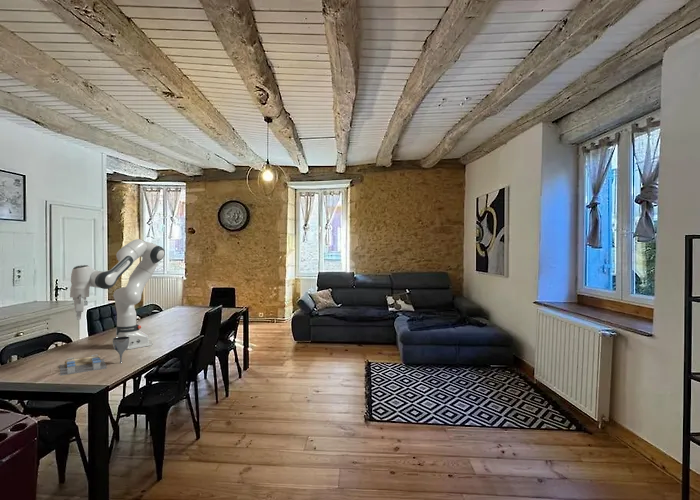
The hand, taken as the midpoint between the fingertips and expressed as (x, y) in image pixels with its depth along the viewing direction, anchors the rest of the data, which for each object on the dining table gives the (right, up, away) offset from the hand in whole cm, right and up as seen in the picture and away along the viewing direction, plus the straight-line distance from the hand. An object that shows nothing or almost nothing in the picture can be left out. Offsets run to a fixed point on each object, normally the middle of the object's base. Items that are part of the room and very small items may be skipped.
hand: (78, 318), depth 212 cm
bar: (+6, -25, -5) cm, 26 cm away
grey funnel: (+25, -26, -2) cm, 36 cm away
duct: (+9, -26, -9) cm, 29 cm away
